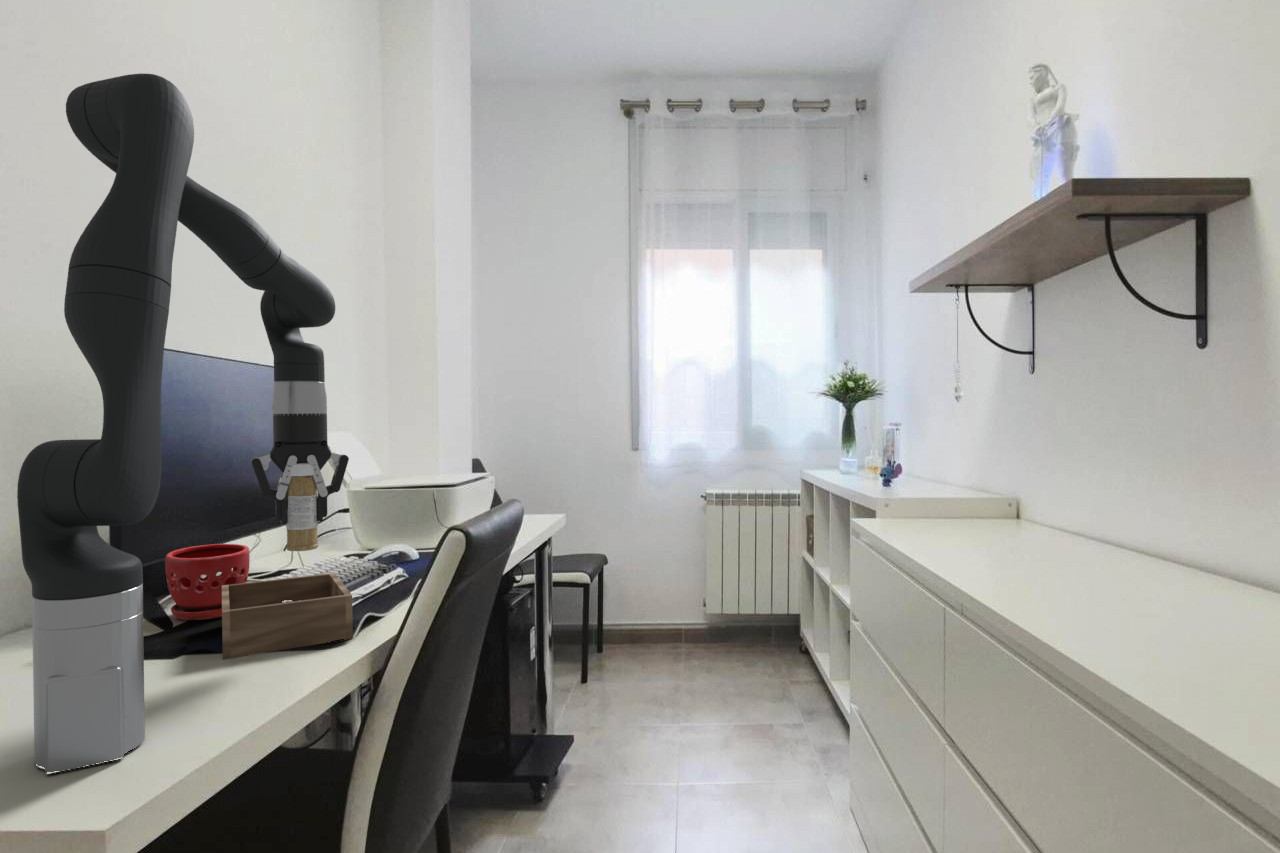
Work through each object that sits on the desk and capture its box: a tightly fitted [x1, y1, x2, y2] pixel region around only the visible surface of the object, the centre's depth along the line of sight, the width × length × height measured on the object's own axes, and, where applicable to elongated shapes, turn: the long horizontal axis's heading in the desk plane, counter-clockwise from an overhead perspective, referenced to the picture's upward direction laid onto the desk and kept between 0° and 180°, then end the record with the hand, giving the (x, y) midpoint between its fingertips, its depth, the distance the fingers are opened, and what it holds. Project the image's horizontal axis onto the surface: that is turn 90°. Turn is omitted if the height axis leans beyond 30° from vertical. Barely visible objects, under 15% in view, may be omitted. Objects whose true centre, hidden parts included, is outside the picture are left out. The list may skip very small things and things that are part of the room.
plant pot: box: [164, 543, 250, 621], centre depth 126 cm, size 13×13×12 cm
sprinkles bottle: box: [285, 463, 319, 552], centre depth 106 cm, size 5×5×14 cm
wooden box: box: [221, 572, 354, 660], centre depth 115 cm, size 20×18×7 cm
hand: (302, 521), depth 106 cm, fingers closed on sprinkles bottle, 4 cm apart
